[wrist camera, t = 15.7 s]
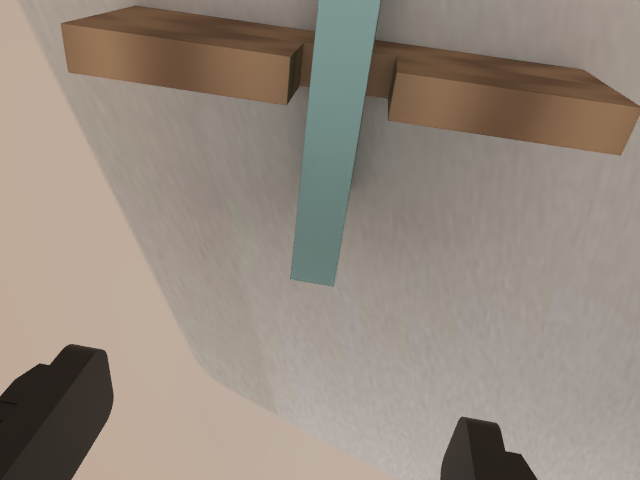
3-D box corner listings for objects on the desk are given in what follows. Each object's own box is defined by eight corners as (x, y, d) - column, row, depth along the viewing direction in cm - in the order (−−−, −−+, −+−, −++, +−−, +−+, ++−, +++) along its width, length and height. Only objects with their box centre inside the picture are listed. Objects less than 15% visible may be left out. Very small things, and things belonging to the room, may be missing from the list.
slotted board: (583, 69, 25) (643, 108, 19) (568, 107, 26) (620, 155, 20) (135, 5, 26) (60, 23, 20) (138, 44, 27) (68, 72, 21)
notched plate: (393, -74, 23) (394, -84, 15) (349, 191, 30) (333, 286, 22) (351, -79, 23) (328, -93, 15) (318, 186, 30) (290, 279, 22)
